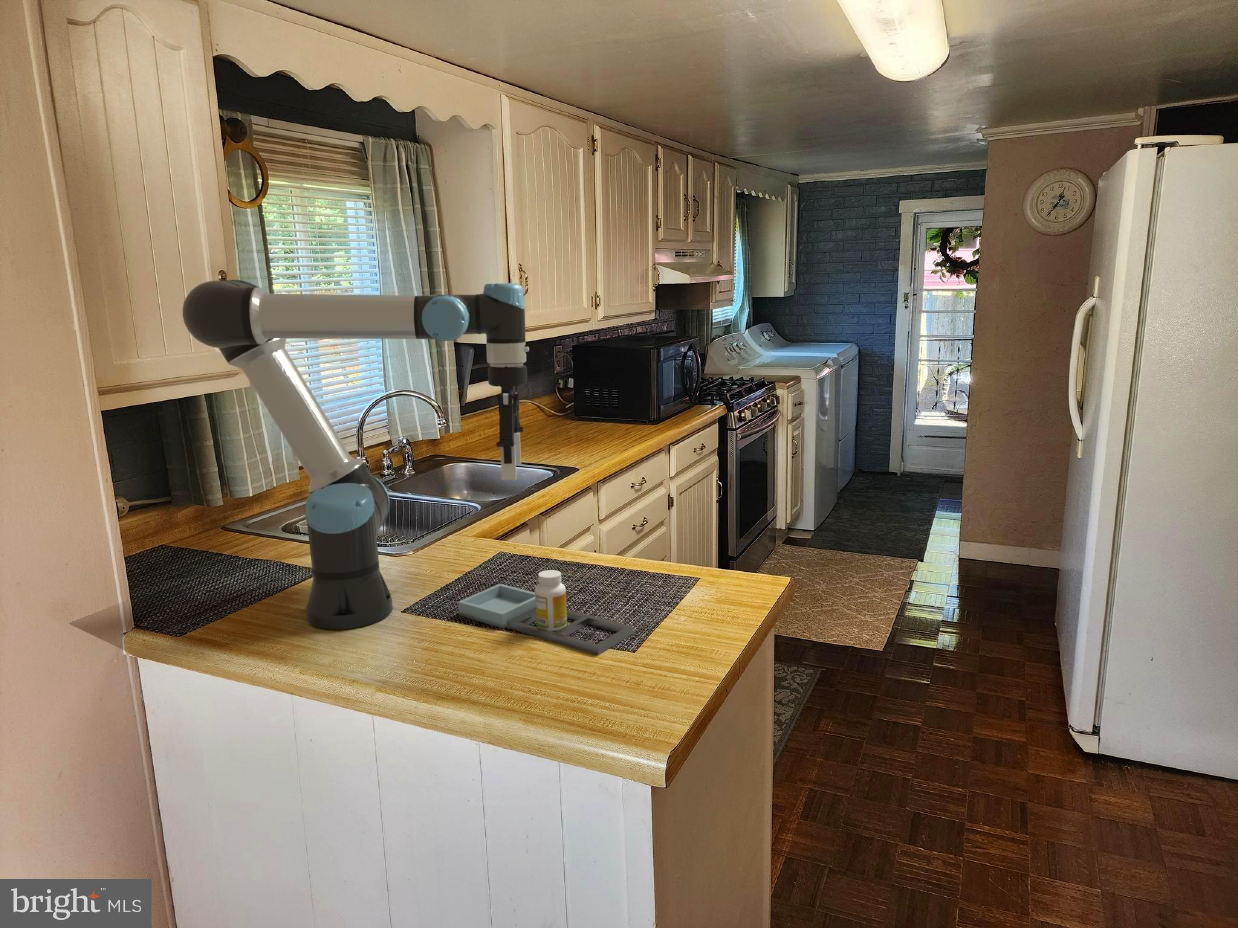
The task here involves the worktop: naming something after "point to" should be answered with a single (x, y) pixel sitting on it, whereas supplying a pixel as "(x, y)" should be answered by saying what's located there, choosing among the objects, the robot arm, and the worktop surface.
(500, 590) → the tray
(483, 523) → the worktop surface
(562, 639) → the dark grey double frame
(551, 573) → the supplement bottle
